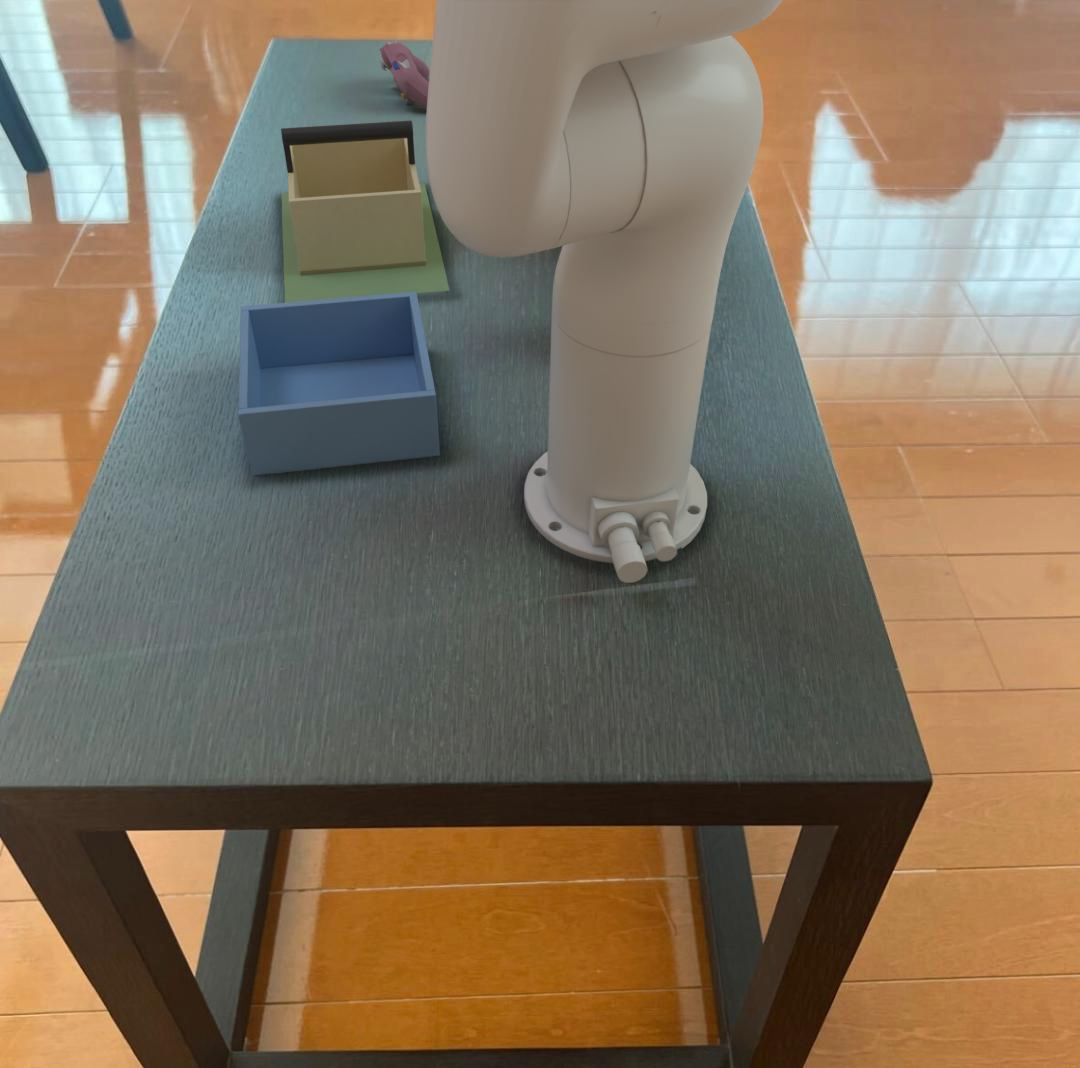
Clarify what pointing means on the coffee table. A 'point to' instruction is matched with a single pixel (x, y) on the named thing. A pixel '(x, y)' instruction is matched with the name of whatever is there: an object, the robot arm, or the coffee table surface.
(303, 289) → the mat
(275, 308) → the blue bin
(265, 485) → the coffee table surface
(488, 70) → the robot arm
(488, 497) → the coffee table surface
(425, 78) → the pink curved piece
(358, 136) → the cream bin
